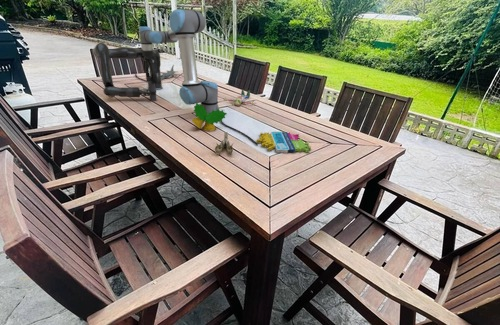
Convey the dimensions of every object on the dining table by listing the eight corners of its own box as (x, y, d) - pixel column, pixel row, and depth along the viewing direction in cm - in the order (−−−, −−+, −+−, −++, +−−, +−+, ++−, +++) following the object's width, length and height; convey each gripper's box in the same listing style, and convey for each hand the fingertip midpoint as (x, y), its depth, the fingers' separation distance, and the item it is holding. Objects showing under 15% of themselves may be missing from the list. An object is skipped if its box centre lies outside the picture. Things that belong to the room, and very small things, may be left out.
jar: (152, 101, 206) (149, 78, 197) (148, 100, 208) (145, 77, 199) (157, 100, 209) (155, 77, 201) (154, 99, 212) (151, 76, 203)
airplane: (149, 74, 290) (148, 65, 285) (178, 73, 303) (177, 64, 298) (156, 82, 262) (155, 72, 257) (187, 81, 275) (186, 71, 270)
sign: (313, 150, 142) (258, 149, 139) (312, 153, 143) (258, 152, 140) (301, 132, 164) (254, 130, 161) (301, 134, 165) (254, 133, 162)
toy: (261, 91, 228) (254, 99, 202) (261, 99, 231) (253, 108, 205) (231, 87, 233) (220, 95, 207) (230, 95, 236) (219, 104, 210)
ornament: (218, 133, 171) (224, 110, 169) (221, 134, 163) (227, 111, 161) (186, 125, 162) (192, 101, 160) (189, 126, 155) (195, 101, 153)
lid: (156, 79, 202) (156, 76, 201) (151, 80, 198) (151, 77, 197) (150, 78, 204) (150, 75, 203) (145, 79, 199) (145, 76, 198)
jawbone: (234, 135, 144) (233, 125, 135) (233, 160, 138) (232, 151, 129) (217, 135, 144) (216, 125, 135) (216, 160, 138) (214, 150, 129)
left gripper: (130, 89, 194) (154, 89, 198) (133, 85, 206) (156, 85, 210) (132, 99, 198) (155, 99, 202) (135, 94, 210) (157, 94, 214)
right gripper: (159, 52, 187) (162, 84, 198) (145, 48, 199) (149, 79, 210) (149, 52, 182) (153, 85, 193) (135, 48, 194) (140, 80, 205)
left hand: (155, 92), depth 206 cm, fingers closed on jar, 5 cm apart
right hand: (151, 82), depth 202 cm, fingers open, 8 cm apart
